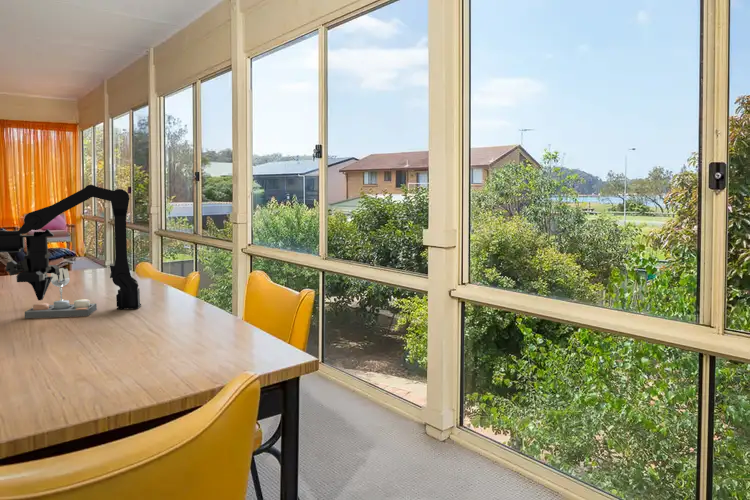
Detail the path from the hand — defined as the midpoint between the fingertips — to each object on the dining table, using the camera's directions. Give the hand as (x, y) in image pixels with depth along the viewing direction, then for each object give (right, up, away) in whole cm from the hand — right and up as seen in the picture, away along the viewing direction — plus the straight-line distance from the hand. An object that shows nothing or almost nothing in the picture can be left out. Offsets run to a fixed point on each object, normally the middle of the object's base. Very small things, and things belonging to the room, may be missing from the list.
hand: (40, 300), depth 180 cm
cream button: (+12, -3, +3) cm, 13 cm away
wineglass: (-4, -3, +19) cm, 20 cm away
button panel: (+6, -5, +2) cm, 8 cm away
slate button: (+6, -3, +2) cm, 7 cm away
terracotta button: (0, -4, 0) cm, 4 cm away
